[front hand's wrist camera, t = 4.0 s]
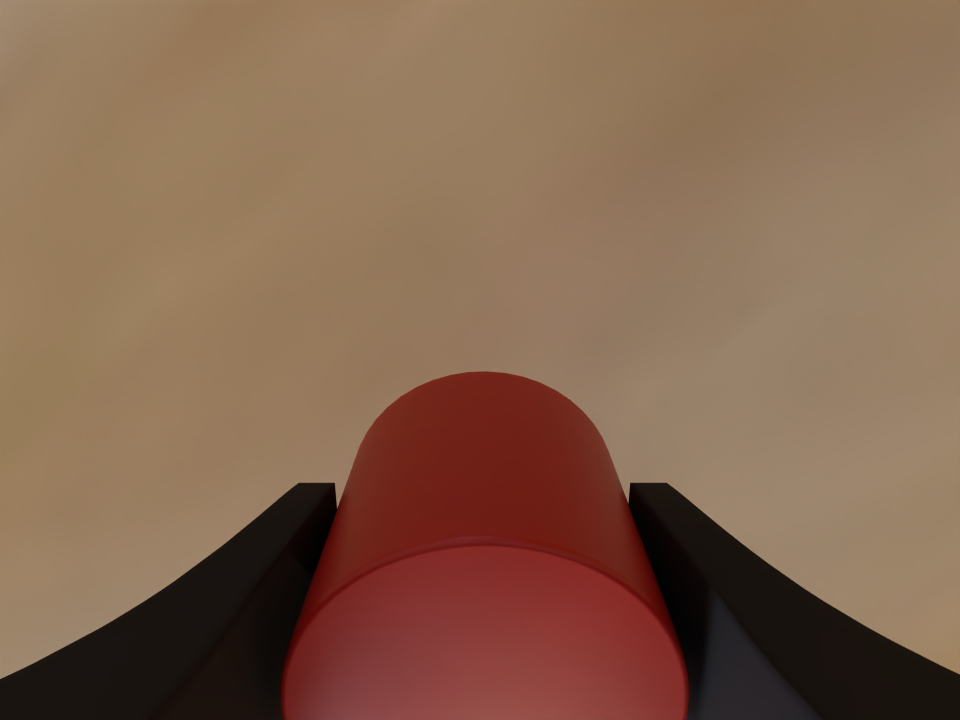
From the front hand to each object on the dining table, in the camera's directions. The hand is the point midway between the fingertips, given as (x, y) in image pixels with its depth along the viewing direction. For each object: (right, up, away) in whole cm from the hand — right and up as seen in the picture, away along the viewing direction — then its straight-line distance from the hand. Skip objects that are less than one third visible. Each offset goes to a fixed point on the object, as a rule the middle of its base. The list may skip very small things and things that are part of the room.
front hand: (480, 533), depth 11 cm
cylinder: (0, 0, +1) cm, 1 cm away
